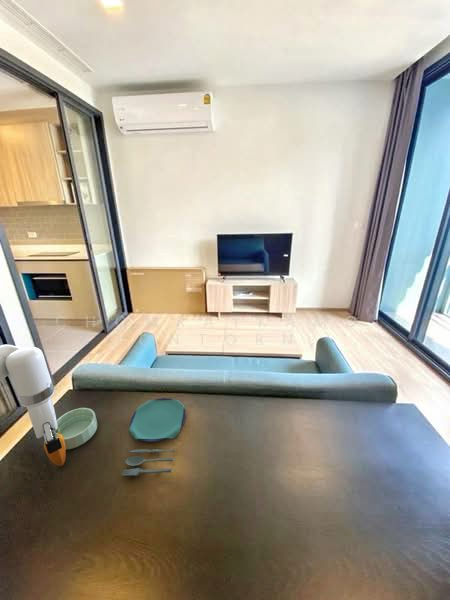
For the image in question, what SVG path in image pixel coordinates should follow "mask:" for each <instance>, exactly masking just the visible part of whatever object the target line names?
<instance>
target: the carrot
mask: <svg viewBox="0 0 450 600" xmlns="http://www.w3.org/2000/svg"><path fill="white" fill-rule="evenodd" d="M58 432H60V431H59V430H57V431H56V434H57V437H58V436H59V439H60V442H61V445H62V448H61V449H59V450H57V451H55V452H53V453H51V454H48V451H47V448H46V445H45V440H43V441H44V442H43V449H44V452H45V454H46V456H47V458H48V459H49V461H50V462H51V463H52V464H54V465H56V466H58V467H62V466H64V464H65V462H66V456H67V455H66V452H67V451H66V450H67V449H65V442H64V438H63V435H62V434H58ZM52 435H53V436H54V433H52Z"/></svg>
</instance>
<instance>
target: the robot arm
mask: <svg viewBox="0 0 450 600" xmlns="http://www.w3.org/2000/svg"><path fill="white" fill-rule="evenodd" d="M6 377H9V378H10V380H11V382H12V385H13V388H14V391H15V393H16V396H17V398H18V402H19V403H20V406H22V407H24V408H26V410H27V412H28V416H29V419H30V422H31V425H32V428H33V431H34V435H35V438H36V439H38V440H39V439H41V438H43V439H44V441H45V445H46V448H47V451H48V454H51V453H53V452H55V451H57V450H59V449H61V448H62V445H61V442H60V439H59V436H58V437H57V434H56V431H57V430H58V429H57V428H58V427H57V421H56V420H57V415H56V410H55V407H54V403H53V399H52V397H53V396H54V394H55V387H54V384H53V381H52V377H51V375H50V372H49V369H48V365H47V362H46V358H45V356H44V353H43V350H42V349H40V348H39V347H36V346H28V347H21V346H17V345H13V344H1V345H0V382H2V381H3V380H4V379H6ZM52 433H54V436H53V435H52Z"/></svg>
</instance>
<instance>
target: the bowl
mask: <svg viewBox="0 0 450 600" xmlns="http://www.w3.org/2000/svg"><path fill="white" fill-rule="evenodd" d="M56 421H57V427H58V428H57V429H58V430H59V431H60V432H58V434H62V435H63V438H64V442H65V449H66V450H71V449H75V448H78V447H80V446H82V445H83V444H85V443H86V442H88V441H90V439H91V438H92V437H93V436H94V435H95V433H96V432H97V429H98V420H97V417H96V413H95V411H94V410H93V409H91V408H88V407H79V408H75V409H71V410H69V411H67V412H65V413H64V414H62V415H61V416H60V417H59V418H56Z"/></svg>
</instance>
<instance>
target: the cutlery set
mask: <svg viewBox="0 0 450 600" xmlns="http://www.w3.org/2000/svg"><path fill="white" fill-rule="evenodd" d="M186 419H187V411H186V409H185V404H183V403H182V402H181V401H180V400H179V399H174V398H168V397H161V398H155V399H149V400H147V401H145V402H144V403H142V404H141V405H139V406H138V407H137V409H136V410H135V411H134V413H133V415H132V416H131V417H130V421H129V429H128V432H129V434H130V435H131V436H132V437H133V439H134V440H139V441H141V442H144V443H157V442H161V441H164V440H166V439H170V440H171V439H172V440H174V439H175V438H176V437H177V436H179V434H180V432H181V429H182V428H183V425H184V424H185V422H186ZM163 452H165V453H166V452H174V453H176V448H175V449H160V448H155V449H154V447H153V448H152V449H146V448H145V449H143V448H142V449H131V450H129V451H128V453H129V454H139V453H152V454H154V453H156V454H158V453H163ZM173 461H174V456H170V457H159V458H158V457H157V458H150V459H146V458H144V457H143V456H142V455H132V456H130V457H128V458H126V460H125V462H124V463H125V464H126V465H128V466H131V467H134V468H130V469H122V472H121V476H130V477H131V476H133V477H137V476H140V475H142V474H162V473H172V468H159V469H157V468H156V469H143V468H140V467H137V466H141V465H142V464H143V463H148V462H173ZM135 467H136V468H135Z"/></svg>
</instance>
